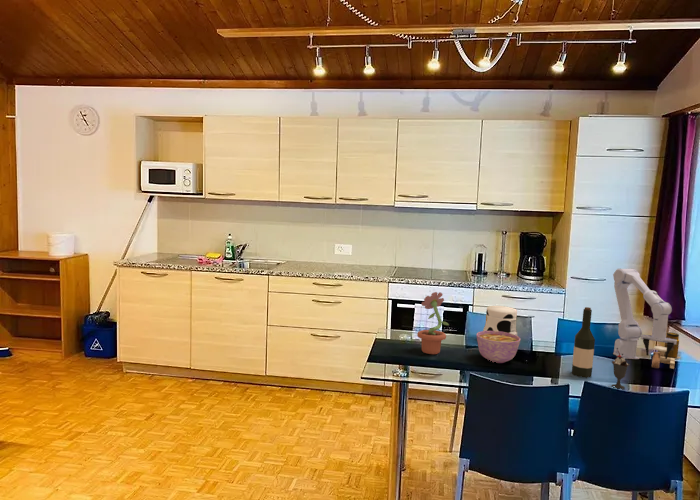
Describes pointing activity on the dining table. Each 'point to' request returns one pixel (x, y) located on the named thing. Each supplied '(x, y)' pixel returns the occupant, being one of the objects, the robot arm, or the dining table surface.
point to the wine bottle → (584, 348)
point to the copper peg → (656, 359)
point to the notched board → (668, 361)
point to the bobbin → (661, 350)
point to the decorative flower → (431, 336)
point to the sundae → (619, 370)
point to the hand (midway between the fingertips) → (656, 356)
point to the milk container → (501, 319)
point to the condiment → (674, 350)
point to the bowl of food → (497, 345)
